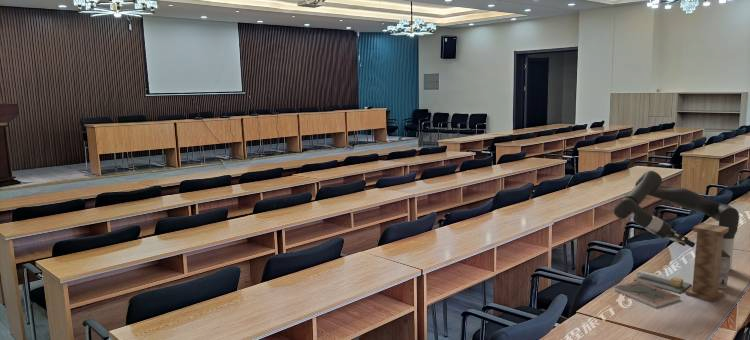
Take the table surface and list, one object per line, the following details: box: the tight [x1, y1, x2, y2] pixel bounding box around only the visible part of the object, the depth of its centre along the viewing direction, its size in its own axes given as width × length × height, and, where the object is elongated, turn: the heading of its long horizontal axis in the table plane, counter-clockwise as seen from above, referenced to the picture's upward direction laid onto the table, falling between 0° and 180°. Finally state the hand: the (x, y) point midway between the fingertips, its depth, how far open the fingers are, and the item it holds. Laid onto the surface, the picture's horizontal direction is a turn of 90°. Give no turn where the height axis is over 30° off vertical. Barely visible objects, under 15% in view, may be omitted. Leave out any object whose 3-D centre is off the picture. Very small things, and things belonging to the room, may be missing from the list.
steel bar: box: [636, 270, 684, 288], centre depth 261 cm, size 20×4×4 cm, turn 41°
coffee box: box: [718, 250, 730, 289], centre depth 256 cm, size 9×6×16 cm
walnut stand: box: [685, 222, 729, 303], centre depth 244 cm, size 12×12×32 cm
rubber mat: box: [633, 277, 693, 294], centre depth 261 cm, size 21×14×1 cm, turn 41°
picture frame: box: [613, 280, 681, 308], centre depth 248 cm, size 16×2×22 cm
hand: (689, 244), depth 247 cm, fingers open, 8 cm apart
